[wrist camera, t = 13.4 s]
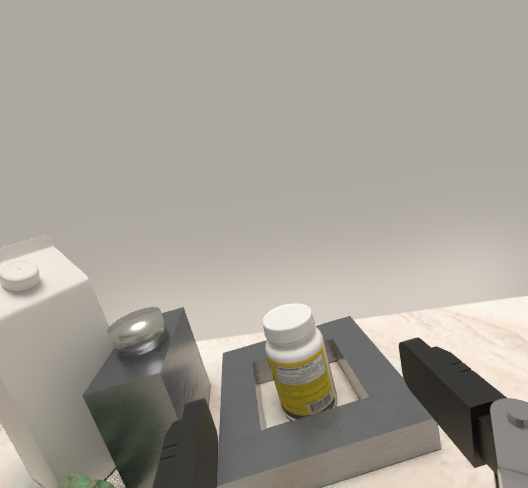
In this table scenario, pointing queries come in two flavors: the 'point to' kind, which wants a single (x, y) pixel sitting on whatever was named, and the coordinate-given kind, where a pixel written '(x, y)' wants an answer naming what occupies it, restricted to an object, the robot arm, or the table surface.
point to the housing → (251, 408)
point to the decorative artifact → (84, 482)
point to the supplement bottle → (298, 361)
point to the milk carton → (50, 362)
